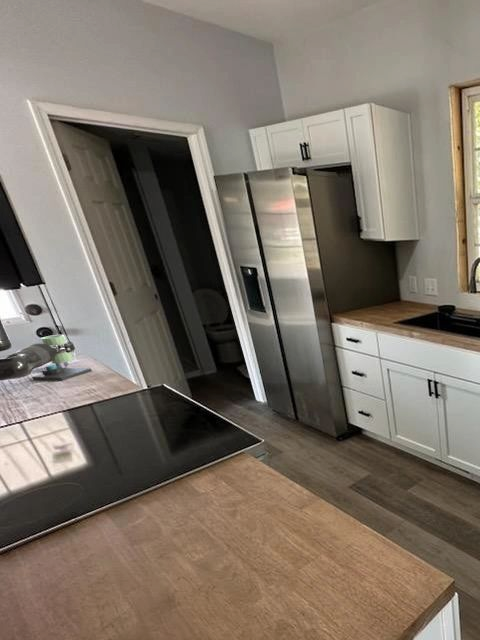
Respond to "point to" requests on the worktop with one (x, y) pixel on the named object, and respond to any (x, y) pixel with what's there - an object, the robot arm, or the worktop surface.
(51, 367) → the tare button
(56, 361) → the cup
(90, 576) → the worktop surface
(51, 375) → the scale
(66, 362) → the french fries carton
